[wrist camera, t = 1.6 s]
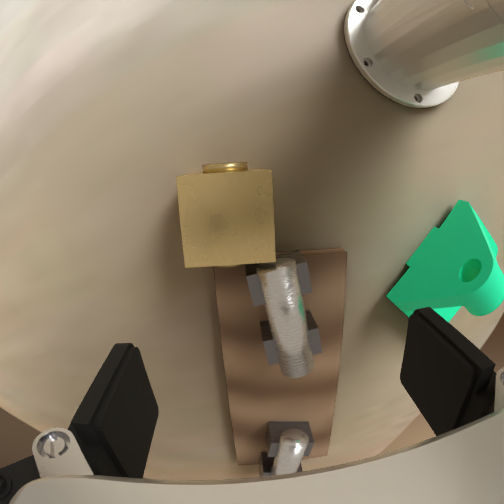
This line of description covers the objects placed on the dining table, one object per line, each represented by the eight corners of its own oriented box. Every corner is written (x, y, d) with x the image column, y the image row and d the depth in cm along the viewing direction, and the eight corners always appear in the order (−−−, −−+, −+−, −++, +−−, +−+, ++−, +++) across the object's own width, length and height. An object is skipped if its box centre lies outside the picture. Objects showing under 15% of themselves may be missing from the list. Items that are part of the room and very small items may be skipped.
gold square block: (189, 166, 25) (175, 167, 19) (263, 161, 25) (271, 160, 20) (196, 252, 27) (186, 276, 21) (267, 247, 27) (275, 270, 21)
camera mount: (421, 328, 31) (473, 381, 21) (381, 291, 29) (436, 344, 19) (485, 244, 29) (549, 273, 19) (452, 198, 27) (525, 217, 17)
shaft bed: (214, 256, 27) (212, 261, 26) (341, 247, 27) (346, 252, 26) (237, 456, 34) (237, 465, 33) (324, 447, 34) (327, 455, 33)
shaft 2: (269, 416, 30) (274, 448, 26) (310, 416, 31) (319, 447, 26) (258, 464, 33) (260, 493, 28) (293, 463, 33) (299, 492, 28)
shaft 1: (243, 258, 26) (245, 279, 21) (297, 246, 26) (310, 263, 21) (267, 351, 28) (272, 383, 24) (314, 340, 28) (327, 369, 24)
